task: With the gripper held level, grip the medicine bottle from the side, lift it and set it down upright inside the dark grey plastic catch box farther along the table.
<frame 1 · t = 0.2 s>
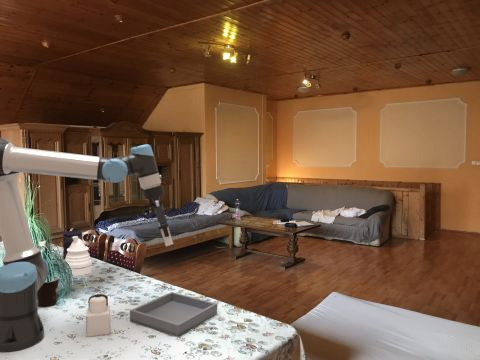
hand: (168, 241, 148), 26 cm above the table, tool tilted 15°, fingers open, 13 cm apart
honey pot: (78, 272, 195), on the table
brown plant pot: (50, 303, 156), on the table
medicine bottle: (98, 331, 132), on the table
catch box: (174, 317, 143), on the table
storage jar: (73, 259, 218), on the table
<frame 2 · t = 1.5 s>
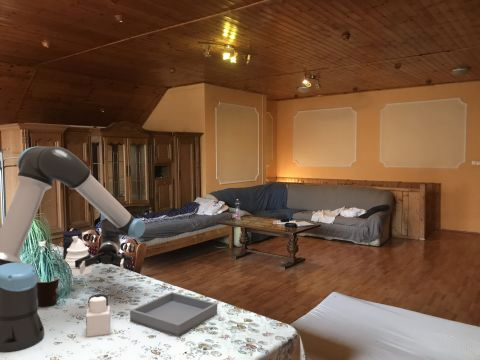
hand: (101, 269, 140), 18 cm above the table, tool horizontal, fingers open, 13 cm apart
nothing on the table moved.
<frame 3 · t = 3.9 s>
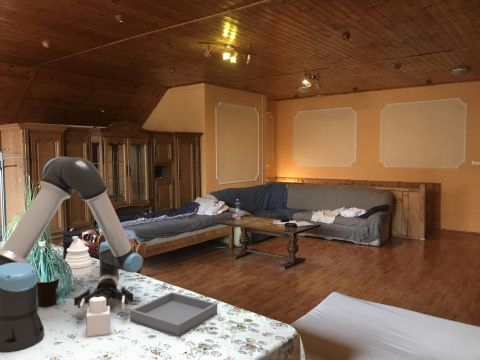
hand: (102, 307, 135), 6 cm above the table, tool horizontal, fingers open, 13 cm apart
nothing on the table moved.
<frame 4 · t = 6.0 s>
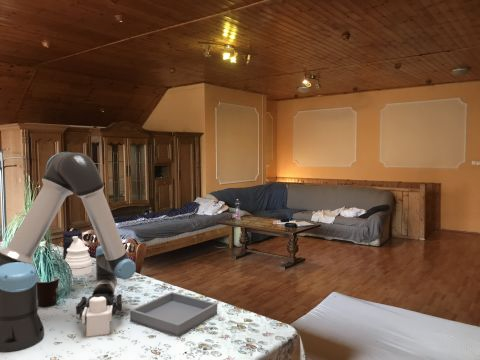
hand: (96, 318, 127), 7 cm above the table, tool horizontal, fingers closed on medicine bottle, 7 cm apart
medicine bottle: (98, 331, 132), on the table, touching gripper
everything else where it was.
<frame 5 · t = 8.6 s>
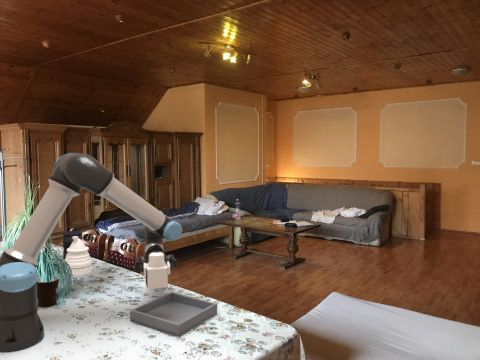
hand: (157, 271, 135), 19 cm above the table, tool horizontal, fingers closed on medicine bottle, 7 cm apart
medicine bottle: (156, 285, 140), point 12 cm above the table, touching gripper
everything else where it was.
when the fingers open (9 cm above the table, at t = 11.1 s): medicine bottle drops 2 cm, resting on catch box.
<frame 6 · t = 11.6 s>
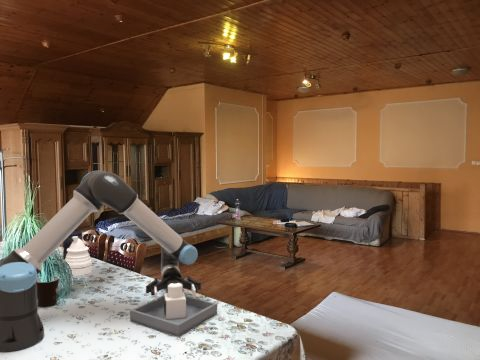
hand: (175, 295, 139), 9 cm above the table, tool horizontal, fingers open, 13 cm apart
medicine bottle: (174, 315, 143), point 1 cm above the table, touching catch box
everything else where it was.
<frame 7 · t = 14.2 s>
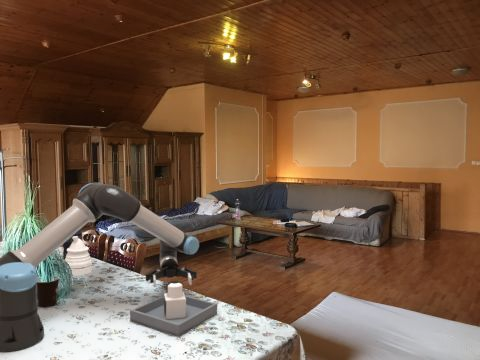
hand: (172, 282, 152), 10 cm above the table, tool horizontal, fingers open, 13 cm apart
nothing on the table moved.
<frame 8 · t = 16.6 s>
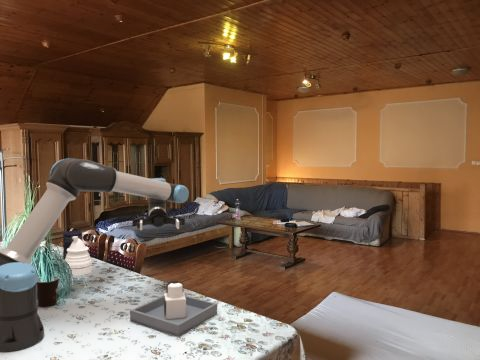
hand: (159, 226, 148), 32 cm above the table, tool horizontal, fingers open, 13 cm apart
nothing on the table moved.
at the end: medicine bottle inside the target area on the catch box (0.0 cm from its centre), point 0.8 cm above the catch box's base; medicine bottle tilted 0°; the gripper is holding nothing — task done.
